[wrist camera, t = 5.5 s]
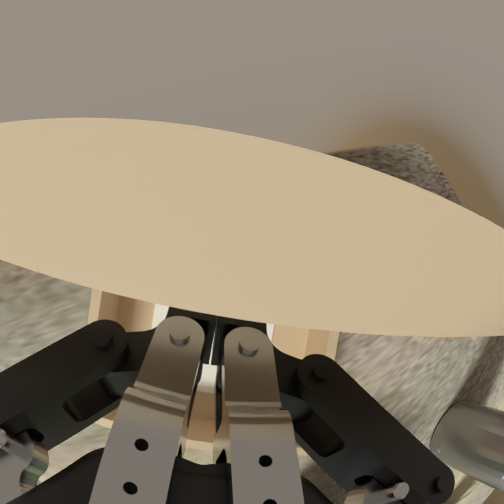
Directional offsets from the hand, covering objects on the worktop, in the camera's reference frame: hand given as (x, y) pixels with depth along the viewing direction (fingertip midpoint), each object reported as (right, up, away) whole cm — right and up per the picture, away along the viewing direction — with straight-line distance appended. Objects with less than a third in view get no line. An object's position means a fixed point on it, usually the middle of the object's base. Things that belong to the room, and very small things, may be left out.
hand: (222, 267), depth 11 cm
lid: (0, -1, 0) cm, 1 cm away
